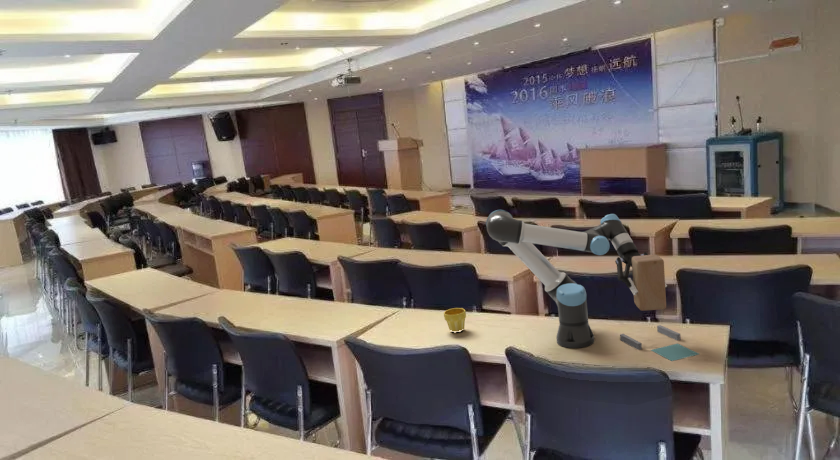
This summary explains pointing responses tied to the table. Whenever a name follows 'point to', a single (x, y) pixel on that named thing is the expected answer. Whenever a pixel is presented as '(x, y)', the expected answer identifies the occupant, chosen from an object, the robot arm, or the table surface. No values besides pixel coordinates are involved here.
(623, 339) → the chute
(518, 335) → the table surface
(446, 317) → the plant pot
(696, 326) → the table surface
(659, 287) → the wooden block
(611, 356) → the table surface
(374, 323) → the table surface
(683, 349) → the mat
